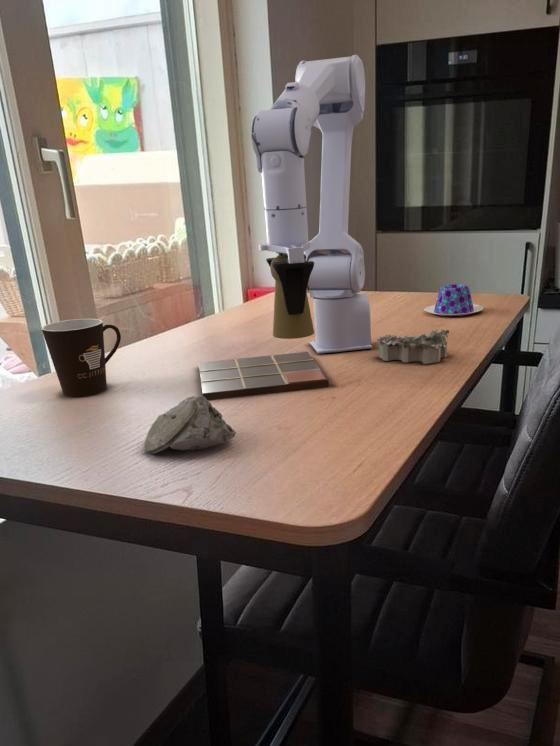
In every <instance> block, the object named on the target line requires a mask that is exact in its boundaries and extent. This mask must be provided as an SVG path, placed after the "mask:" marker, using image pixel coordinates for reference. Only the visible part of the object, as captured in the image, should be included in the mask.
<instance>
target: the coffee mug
mask: <svg viewBox="0 0 560 746" xmlns="http://www.w3.org/2000/svg"><path fill="white" fill-rule="evenodd" d="M40 328H41V329H40V330H41V332H42V335H43V338H44V341H45V344H46V347H47V350H48V353H49V356H50V359H51V361H52V364H53V367H54V370H55V373H56V377H57V379H58V382H59V385H60V387H61V388H60V389H61V391H62V394H63V396H64V397H68V398H83V397H90V396H94V395H99V394H102V393H103V392H105V391H106V390H107V389H108V383H107V368H106V364H107V363H109V361H110V360H111V358H112V357H113V356H114V354H115V353H116V352H117V350H118V348H119V345H120V344H121V340H122V334H121V332H120V329H119V328H118V327H117V326H116V325H114V324H105V325H104V323H103V320H102V319H100V318H99V319H98V318H76V319H75V318H74V319H65V320H60V321H56V322H51V323H47V324H45V325H43V326H41V327H40ZM108 329H112V330H113V331H114V332H115V335H116V340H115V343H114V345H113V348H112V349H111V350H110V352H109V353H108V354H107V355H106V353H105V352H106V351H105V337H104V332H105V331H106V330H108Z"/></svg>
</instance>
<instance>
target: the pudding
mask: <svg viewBox="0 0 560 746" xmlns="http://www.w3.org/2000/svg"><path fill="white" fill-rule="evenodd" d="M484 309H485V308H484V306H482V305H480V304H476V303H473V298H472V294H471V289H470V287H469V286H468V285H466V284H460V283H455V284H452V283H451V284H446V285H445V284H444V285H441V287H440V288H439V290H438V294H437V297H436V302H435V304H432V305H429V306H427V307H425V308H424V311H425V312H427V313H430V314H434V315H437V316H442V317H461V316H468V315H471V314H475V313H478V312H481V311H483V310H484Z"/></svg>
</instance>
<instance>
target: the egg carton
mask: <svg viewBox="0 0 560 746" xmlns="http://www.w3.org/2000/svg"><path fill="white" fill-rule="evenodd" d="M449 335H450V330H449V329H445V330H444V329H440V330H438V329H437V330H432V331H431V332H430V334H427V333H421V334H420V335H403V336H399V337H397V335H396V334H395V335H392V334H385V335H384V336H379V337H378V338H376V340H377V341H378V345H377V347H378V358H379V359H381V360H382V361H384V362H390V361H393V360H394V361H395V360H396V361H397V360H398V361H401V362H402V363H412V362H421V363H422V364H423V365H428V364H437V363H439V362H441V358H447V356H448V340H447V338H448V337H449Z"/></svg>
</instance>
